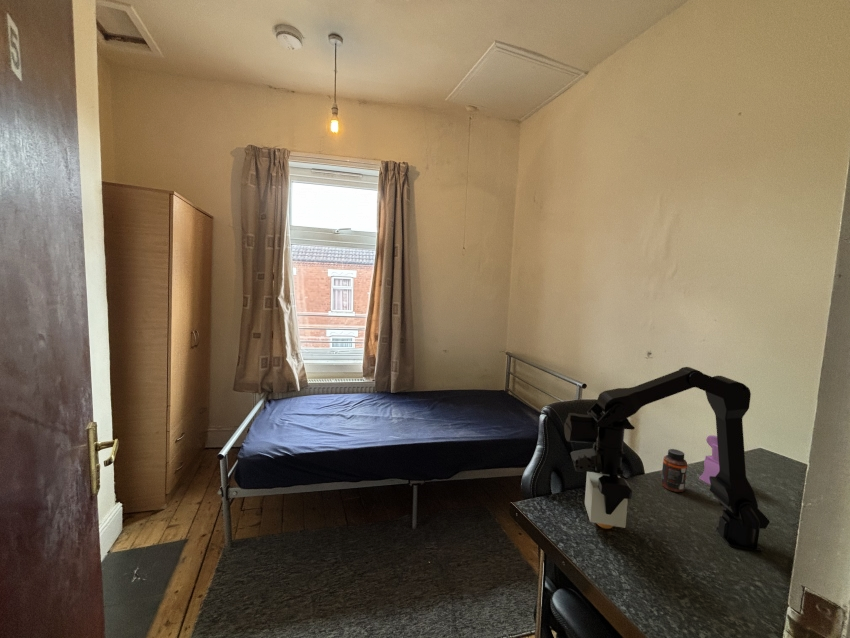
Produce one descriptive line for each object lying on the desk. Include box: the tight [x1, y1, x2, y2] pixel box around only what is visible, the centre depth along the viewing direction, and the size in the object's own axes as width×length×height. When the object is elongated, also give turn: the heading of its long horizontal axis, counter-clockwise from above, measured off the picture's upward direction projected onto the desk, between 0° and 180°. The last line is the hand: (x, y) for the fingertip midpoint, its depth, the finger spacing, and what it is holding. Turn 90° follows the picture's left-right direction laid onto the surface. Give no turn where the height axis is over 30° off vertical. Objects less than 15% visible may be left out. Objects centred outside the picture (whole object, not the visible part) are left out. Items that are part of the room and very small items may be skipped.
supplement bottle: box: [660, 448, 688, 493], centre depth 110 cm, size 6×6×11 cm
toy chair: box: [698, 434, 720, 486], centre depth 114 cm, size 8×9×15 cm
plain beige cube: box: [584, 471, 629, 529], centre depth 91 cm, size 8×8×9 cm
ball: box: [596, 523, 614, 529], centre depth 91 cm, size 5×5×5 cm
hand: (604, 504), depth 91 cm, fingers closed on plain beige cube, 8 cm apart
